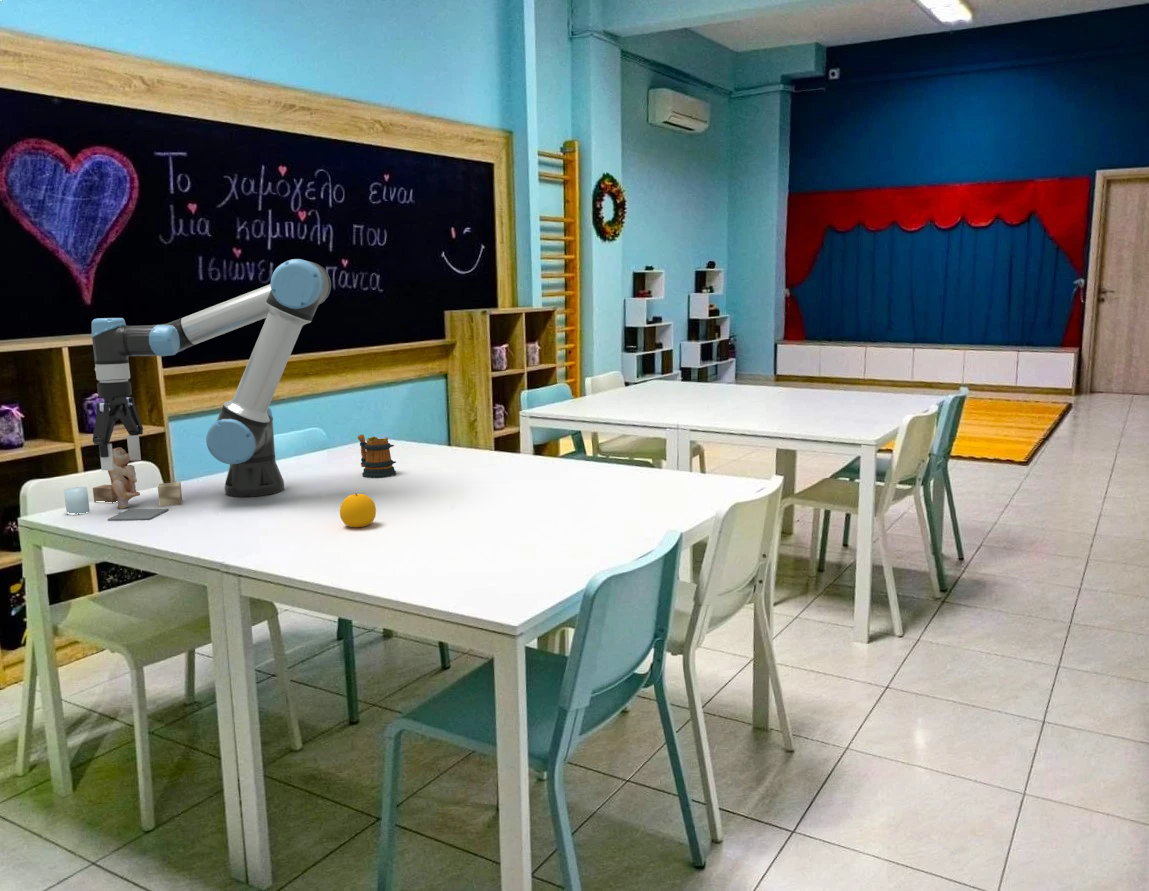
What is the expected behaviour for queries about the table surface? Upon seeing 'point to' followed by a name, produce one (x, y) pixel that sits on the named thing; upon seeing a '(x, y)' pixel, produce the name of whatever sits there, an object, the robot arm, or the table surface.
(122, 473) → the figurine
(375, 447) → the mug
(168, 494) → the beech block
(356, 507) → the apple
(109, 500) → the walnut block
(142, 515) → the grey mat
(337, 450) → the table surface
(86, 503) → the pale blue rounded block
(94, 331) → the robot arm
